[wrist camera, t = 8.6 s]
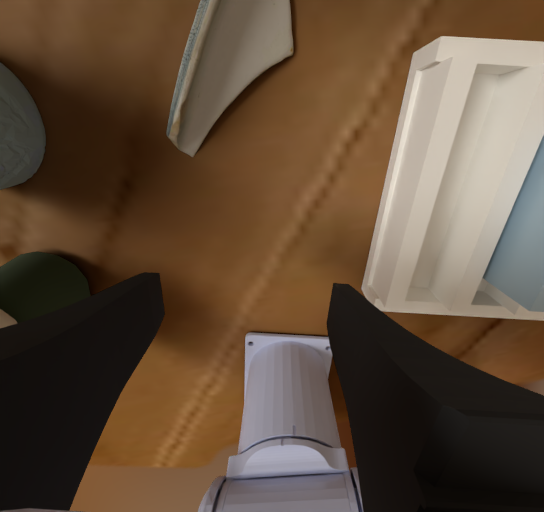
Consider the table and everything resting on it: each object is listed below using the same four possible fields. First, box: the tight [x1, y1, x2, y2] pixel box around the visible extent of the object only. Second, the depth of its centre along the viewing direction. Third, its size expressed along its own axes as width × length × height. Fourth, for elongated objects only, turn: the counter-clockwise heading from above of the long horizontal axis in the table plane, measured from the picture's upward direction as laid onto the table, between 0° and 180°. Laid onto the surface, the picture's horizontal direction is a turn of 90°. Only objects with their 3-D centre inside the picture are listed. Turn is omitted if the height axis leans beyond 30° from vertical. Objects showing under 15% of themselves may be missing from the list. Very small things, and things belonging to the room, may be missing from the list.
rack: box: [361, 36, 544, 321], centre depth 17 cm, size 16×15×4 cm
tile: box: [482, 135, 544, 312], centre depth 15 cm, size 9×2×6 cm, turn 177°
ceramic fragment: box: [167, 0, 294, 157], centre depth 15 cm, size 14×5×4 cm, turn 151°
